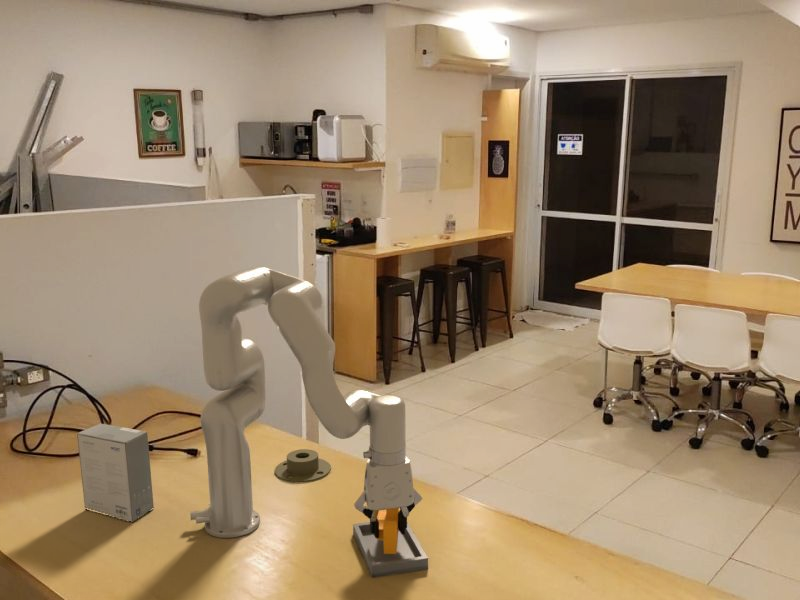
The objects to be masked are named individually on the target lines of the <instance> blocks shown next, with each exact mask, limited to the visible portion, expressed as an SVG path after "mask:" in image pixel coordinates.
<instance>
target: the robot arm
mask: <svg viewBox="0 0 800 600" xmlns="http://www.w3.org/2000/svg"><path fill="white" fill-rule="evenodd" d="M198 303H199V304H198V312H199V318H200V319H199V321H200V327H201V341H202V345H201V346H202V361H203V374H204V378H205V382H206V383H207V385H208V386H209V387H210V388H211V389H213V390H215V391H217V392H218V391H223V392H221V393H219V394H217V395H216V396H214V397H213V398H212V399H210V400H209V401H208V402H207V403H206V404H205V406H204V407H203V409H202V410H201V414H200V427H201V430H202V432H203V433H202V434H203V437H204V443H205V447H206V450H205V451H206V460H207V462H206V463H207V475H208V491H209V504H208V508H204V510H195V511H194V510H193V511H190V514H189V515H190V521H195V523H196V524H202V523H203V524H204V530H205V531H206V533H207V534H209V535H210V536H213V537H217V538H221V539H222V538H223V539H225V538H226V539H227V538H229V539H230V538H238V537H241V536H245V535H248V534H250V533H252V532H254V531H255V530H256V529H257V528H258V527H259V526H260V524H261V516H260V514H259V512H257V511H256V510H254V509H253V508H254V507H253V503H254V502H253V487H252V486H253V484H252V465H251V451H250V450H251V449H250V446H249V443H248V441H247V438H246V435H245V429H246V428H247V427H248V426H250V425H251V424H252V423H253V422H255V421H256V420H258V419H259V418H260V417H261V416H262V415H263V413H264V411H265V408H266V404H267V394H266V393H267V392H266V391H267V390H266V371H265V370H266V369H265V367H266V366H265V358H264V354H263V352H262V350H261V348H260V346H259V345H258V344H257V343H256V342H254V341H253V340H251V339H249V338H247V337H246V338H245V337H242V336H243V334H242V326H241V323H240V320H239V318H238V316H237V315H238V314H240V313H242V312H247V311H249V310H252V309H255V308H256V307H259V306H261V305H265V306H267V312H268V314H269V316H270V318H271V320H272V322H273V323H274V325H275V326H276V328H277V330H278V332H280V334H281V336H282V337H283V339H284V340H285V342H286V344H287V345H288V347H289V349H290V351H291V352H292V353H293V355H294V357H295V359H296V360H297V362H298V363H299V365H300V368H301V377H302V382H303V387H304V390H305V395H306V398H307V400H308V403H309V405H310V407H311V409H312V411H313V412H314V414H315V416H316V417H317V419H318V420H319V422H320V424H321V425H322V426H323V427H324V429H325V430H326V431H327V432H328V433H329V434H330V435H331V436H333V437H336V438H337V439H340V440H345V439H350V438H351V437H354V436H355V435H356V434H357V433H359V432H360V430H362V428H364V427H366V426H369V446H368V450H366V451H363V453H362V455H363V459H367V461H366V466H365V472H364V482H363V483H364V484H363V492H362V493H361V494H360V495H359V497H358V499H357V500H356V501H355V502H354V503H353V507H354V508H355V509H356V510H357V511H359V512H360V513H362V514H363V515H364V516H365V517H366V518H367V519H369V522H370V531H371V533H373V534H374V536H375V538H378V537H379V521H378V517H379V511H383V510H384V511H386V509H394V508H399V513H398V529H399V531H400V532H401V534H402V535H403V534H405V528H407V523H408V517H409V516H410V513H411V512H412V510H413V509H414V508H415V507H416V506H417V505H418V504H419V503H420V502H421V501H422V500H423V497H422V496H421V494H420V493H419V492H418V491H417V490H416V489H415V488H414V480H413V472H412V465H411V461H410V459H409V458H408V457H407V455H406V454H407V452H406V451H407V449H406V448H407V446H406V444H407V443H406V439H407V438H406V434H407V433H406V432H407V431H406V428H407V427H406V425H407V424H406V403H405V400H403V399H402V398H401V397H399V396H397V395H392V394H390V395H389V394H387V395H386V394H385V395H383V394H382V395H381V394H377V393H374V392H370V391H367V390H363V389H353V390H350V391H348V392H347V393H346V394H345V395H343V394H342V392H341V390H340V389H339V386H338V385H337V382H336V377H335V375H334V373H335V372H334V361H335V354H336V343H335V341H334V339H333V338H332V337H331V335H330V334H329V332H328V330H327V329H326V327H325V325H324V323H322V321H321V319H320V318H319V315H318V314H319V312H320V310H321V309H322V307H323V298H322V294H321V292H320V291H319V289H318V288H317V287H316V286H315V285H314V284H312V283H311V282H309V281H307V280H305V279H303V278H298V277H296V276H294V275H293V276H292V275H290V274H287V273H284V272H281V271H279V270H278V271H277V270H275V269H271V268H269V267H264V266H254V267H253V266H252V267H250V268H246V269H243V270H241V271H237V272H232V273H229V274H227V275H224V276H222V277H220V278H217V279H216V280H214V281H212V282H211V283H210V284H208V285H207V286H206V287H205V288H204V289H203V291H202V293H201V294H200V297H199V302H198ZM365 503H366V505H365Z"/></svg>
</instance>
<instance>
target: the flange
mask: <svg viewBox="0 0 800 600" xmlns="http://www.w3.org/2000/svg"><path fill="white" fill-rule="evenodd" d="M286 464H287V465H286ZM331 466H332V465H331V463H330V462H328V461H327V460H325V459H324V458H319V453H318V452H317V451H316V450H314V449H313V450H312V449H309V448H308V449H307V448H305V449H304V448H303V449H302V448H301V449H296V450H292V451H290V452H289V453H287V455H286V459H285V460H284V461H281V462H280V463H279V464H277V465H276V466H275V467H274V474H275V476H276V477H277V478H278V479H280V480H281V481H285V482H289V483H295V482H303V483H311V482H315V480H316V481H318V480H321V479H323V477H324V478H325V477H326V476H328V475H329V474H330V473H331V471H332V467H331ZM322 473H323V474H322Z"/></svg>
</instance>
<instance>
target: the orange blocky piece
mask: <svg viewBox="0 0 800 600" xmlns="http://www.w3.org/2000/svg"><path fill="white" fill-rule="evenodd" d="M399 511H400V508H394V509H386V510H384V511H383V510H379V512H378V516H377V519H378V521H379V537H378V538H377V540H384V554H396V551H397V540H398V513H399Z"/></svg>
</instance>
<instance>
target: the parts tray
mask: <svg viewBox="0 0 800 600" xmlns="http://www.w3.org/2000/svg"><path fill="white" fill-rule="evenodd" d="M352 527H353V528H352V533H353V537H354V540H355V542H356V544H357V546H358V549H359V552H360V553H361V557H362V558H363V561H364V563H365V565H366V568H367V570H368V572H369V575H370V577H371V579H374V578H380V577H389V576H393V575H398V574H406V573H412V572H418V571H425V570H428V569H429V557H428V555H427V554H426V552H425V550H424V549H423V547H422V545H421V543H420V542H419V540H418V538H417V537H416V535H415V533H414V531H413V529H412V528H411V526H410V524H409V522H407V528H405V534H403V535H402V534H401V532H400V531H399V529H398V540H397V551H396V554H384V540H377V538H375V536H374V534H373V533H371V531H370V521H368V522H367V521H366V522H361V523H360V522H359V523H354V524H352Z"/></svg>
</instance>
